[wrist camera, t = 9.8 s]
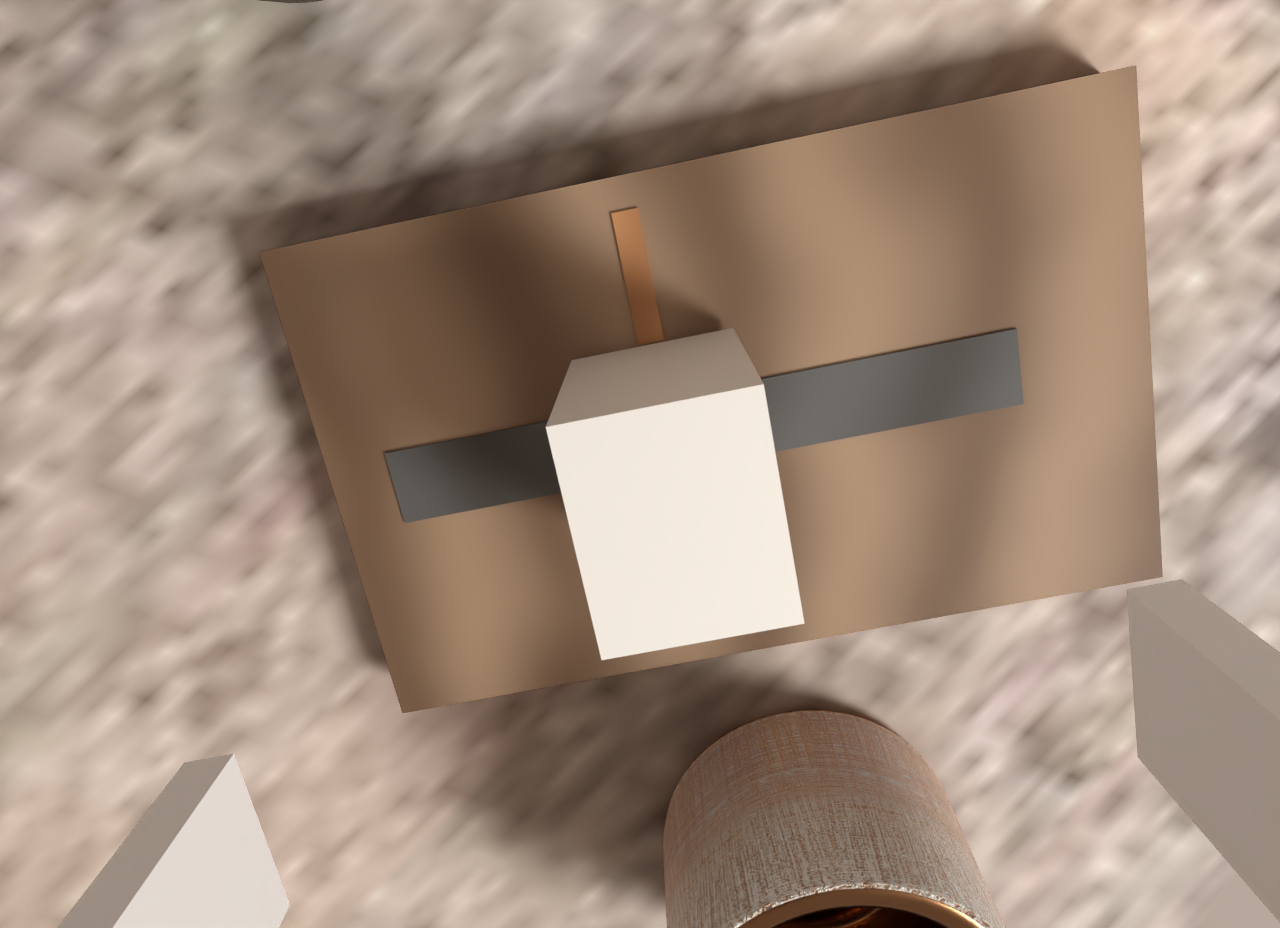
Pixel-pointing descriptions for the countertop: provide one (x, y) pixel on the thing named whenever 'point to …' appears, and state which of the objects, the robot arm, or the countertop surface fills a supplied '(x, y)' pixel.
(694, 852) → the planter
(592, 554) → the fader cap
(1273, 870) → the robot arm
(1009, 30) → the countertop surface
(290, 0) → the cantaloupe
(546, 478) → the fader board
